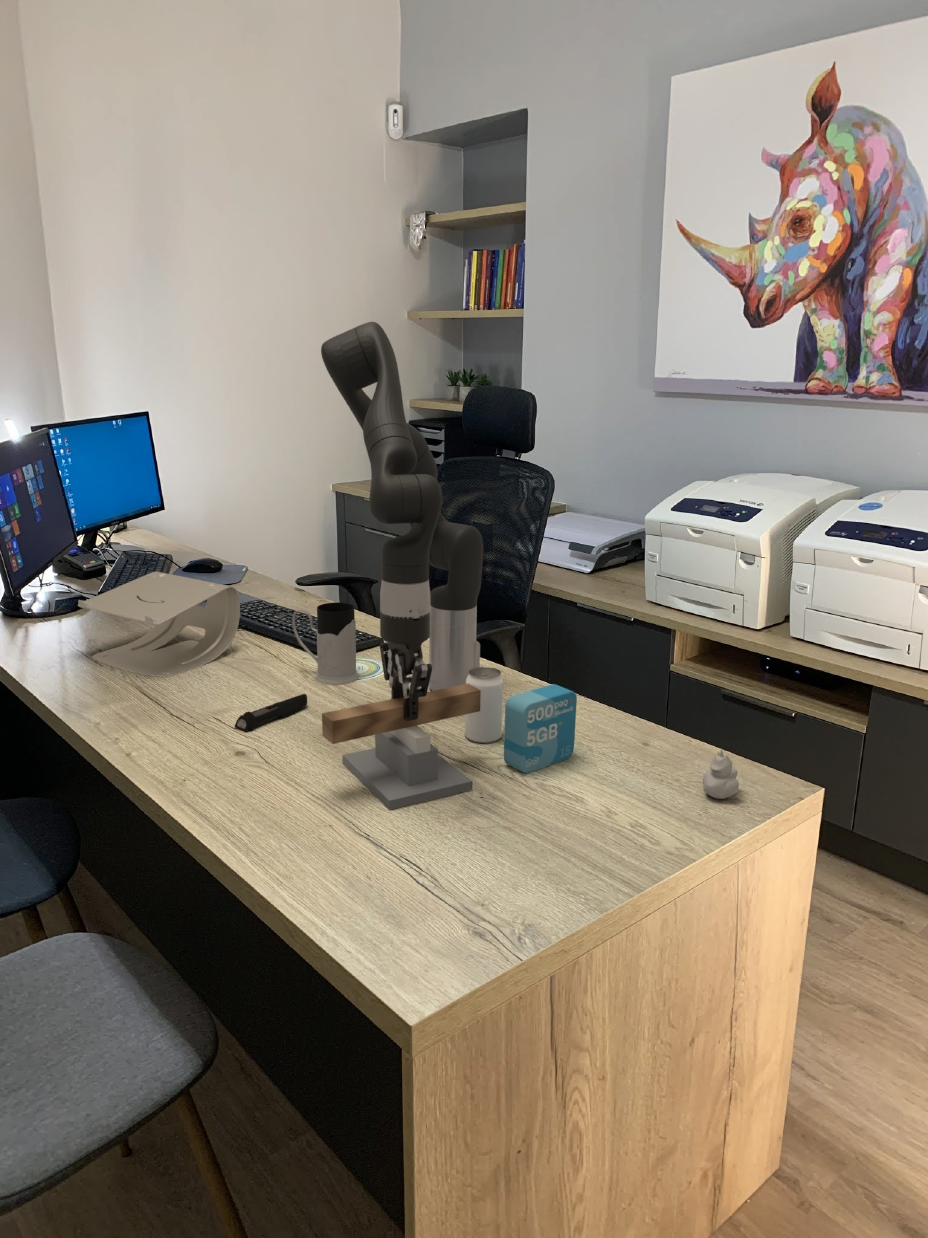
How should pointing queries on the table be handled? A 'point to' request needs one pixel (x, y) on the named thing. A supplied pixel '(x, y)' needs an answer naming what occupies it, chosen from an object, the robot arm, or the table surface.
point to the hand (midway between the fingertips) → (404, 714)
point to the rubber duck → (721, 778)
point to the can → (485, 706)
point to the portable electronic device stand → (169, 622)
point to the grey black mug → (334, 643)
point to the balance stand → (406, 769)
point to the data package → (539, 727)
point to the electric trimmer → (270, 713)
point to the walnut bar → (398, 713)
